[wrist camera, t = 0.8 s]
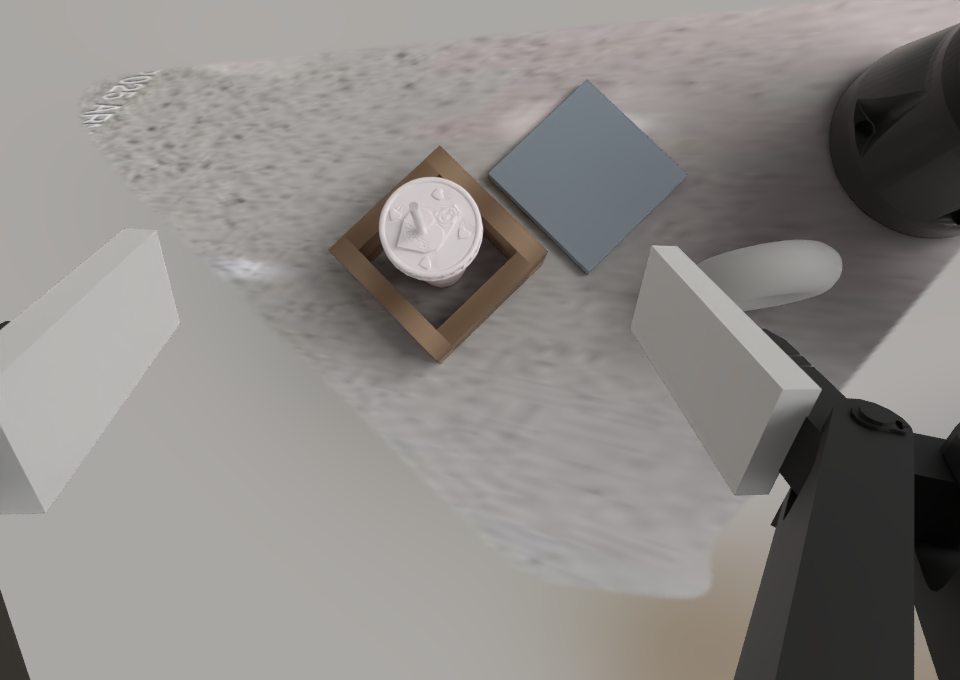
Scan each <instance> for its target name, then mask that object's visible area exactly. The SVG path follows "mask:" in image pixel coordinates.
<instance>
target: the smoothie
mask: <svg viewBox="0 0 960 680" xmlns="http://www.w3.org/2000/svg"><path fill="white" fill-rule="evenodd" d="M379 236H380V240H381V243H382V246H383V248H384V250H385V253H386V255H387V257H388V259H389V260H390V261H391V262H392V263H393V264H394V266H395V267H396V268H397V269H399V270H400V271H402V272H403V273H404V274H406V275H407V276H410V277H413V278H416V279H419V280H424V281H425V282H427V283H429V284H430V285H432V286H435V287H441V288H443V287H449V286H451V285H453V284H455V283H457V282H458V281H459V280H460V279H461V277H462V276H463V274H464V271H465V269H466V267H467V266H469V265H470V263H471V262H472V261H473V259H474V258H475V256H476V255H477V253H478V251H479V248H480V245H481V243H482V236H483V225H482V219H481V215H480V212H479V209H478V207H477V204H476V203H475V201H474V199H473V198H472V197H471V195H470V194H469V193H468V192H467V191H466V190H465V189H464V188H462V187H461V186H460V185H458V184H456V183H454V182H452V181H450V180H447V179H443V178H438V177H423V178H418V179H415V180H412V181H410V182H407V183H405V184H404V185H402V186H401V187H399V188H398V189H397V190H396V191H395V192H394V193H393V194H392V195H391V196H390V197H389V198H388V200H387V201H386V203H385V205H384V207H383V209H382V212H381V215H380V220H379Z"/></svg>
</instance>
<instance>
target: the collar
mask: <svg viewBox="0 0 960 680" xmlns="http://www.w3.org/2000/svg"><path fill="white" fill-rule="evenodd" d="M423 177H438V178H443V179H447V180H450V181H452V182H454V183H456V184H458V185H460V186H461V187H462V188H464V189H465V190H466V191H467V192H468V193H469V194H470V195H471V197H472V198H473V199H474V201H475V203H476V204H477V207H478V209H479V212H480V215H481V219H482V225H483V234H484V235H485V236H486V237H487V238H488V239H489V240H490V241H491V242H492V243H493V244H494V245H495V246H496V247H497V248H498V249H499V250H500V251H501V252H502V253H503V254H504V255H505V256H506V257H507V258H508V259H509V260H508V261H507V262H506V263H505V264H504V265H503V266H502V267H501V268H500V269H499V270H498V271H497V272H496V273H495V274H494V275H493V276H492V277H491V278H490V279H489V280H488V281H487V282H486V283H485V284H484V285H482V286H481V287H480V288H479V289H478V290H477V291H476V292H475V293H474V294H473V295H472V296H471V297H470V298H469V299H468V300H467V301H466V302H465V303H464V304H463V305H462V306H461V307H460V308H459V309H458V310H457V311H456V312H455V313H454V314H453V315H451V316H450V317H449V318H448V319H447V320H446V321H445V322H444V323H443V324H442V325H441V326H440V327H439V328H438V329H437V330H436V329H435V328H434V327H433V326H432V325H431V324H430V323H429V322H428V321H427V320H426V319H425V318H424V317H423V316H422V315H421V314H420V313H419V312H418V311H417V310H416V309H415V307H414V306H413V305H412V304H411V303H410V302H409V301H408V300H407V299H406V298H405V297H404V296H403V295H402V294H401V293H400V292H399V291H398V290H397V289H396V288H395V287H394V286H393V285H392V284H391V283H390V282H389V281H388V280H387V279H386V278H385V277H384V276H383V275H382V274H381V273H380V272H379V271H378V270H377V269H376V268H375V267H374V266H373V265H372V264H371V262H372V261H373V260H374V259H375V258H376V257H377V256H378V255H379V254H381V253H382V252H383V251H384V248H383V246H382V243H381V240H380V236H379V220H380V215H381V212H382V209H383V207H384V205H385V203H386V201H387V200H388V198H389V197H390V196H391V195H392V194H393V193H394V192H395V191H396V190H397V189H398V188H399V187H401V186H402V185H404V184H405V183H407V182H410V181H412V180H415V179H418V178H423ZM329 251H330V252H331V253H332V254H333V255H334V256H335V257H336V258H337V259H338V260H339V261H340V262H341V263H342V264H343V265H344V266H345V267H346V268H347V269H348V270H349V272H350V273H351V274H352V275H353V276H354V277H355V278H356V279H357V280H358V281H359V282H360V283H361V284H362V285H363V286H364V287H365V288H366V289H367V290H368V291H369V292H370V293H371V294H372V295H373V296H374V297H375V298H376V299H377V300H378V301H379V302H380V303H381V304H382V305H383V306H384V307H385V308H386V309H387V311H388V312H389V313H390V314H391V315H392V316H393V317H394V318H395V319H396V320H397V321H398V322H399V323H400V324H401V325H402V326H403V327H404V328H405V329H406V330H407V331H408V332H409V333H410V334H411V335H412V336H413V337H414V338H415V339H416V340H417V341H418V342H419V343H420V344H421V345H422V346H423V347H424V348H425V350H426V351H427V352H428V353H429V354H430V355H431V356H432V357H433V358H434V359H435V360H436V361H438V362H439V363H440V364H441V363H442V362H443V361H444V360H445V359H446V358H447V357H448V356H449V355H450V354H451V353H452V352H453V351H454V350H455V349H456V348H457V347H458V346H459V345H460V344H461V343H462V342H463V341H464V340H465V339H466V338H467V337H468V336H469V335H470V334H471V333H472V332H473V331H475V330H476V329H477V328H478V327H479V326H480V325H481V324H482V323H483V322H484V321H485V320H486V319H487V318H488V317H489V316H490V315H491V314H492V313H493V312H494V311H495V310H496V309H497V308H498V307H499V306H500V305H501V304H502V303H503V302H504V301H505V300H506V299H507V298H508V297H509V296H510V295H511V294H513V293H514V292H515V291H516V290H517V289H518V288H519V287H520V286H521V285H522V284H523V283H524V282H525V281H526V280H527V279H528V278H529V277H530V276H531V275H532V274H533V273H534V272H535V271H536V270H537V269H538V268H539V267H540V266H541V265H542V263H543V261H544V259H545V257H546V254H547V252H548V251H547V250H546V249H545V248H544V247H543V246H542V245H541V244H540V243H539V242H538V241H536V240H535V239H534V238H533V237H532V236H531V235H530V234H529V233H528V232H527V231H526V230H525V229H524V228H523V227H522V226H521V225H520V224H519V223H518V222H517V221H516V220H515V219H514V218H513V217H512V216H511V215H510V214H509V213H508V212H507V211H506V210H505V209H504V208H503V207H502V206H501V205H500V204H499V203H498V202H497V201H496V200H495V199H494V198H493V197H492V196H491V195H490V194H489V193H488V192H487V191H486V190H485V189H484V188H483V187H482V186H481V185H479V184H478V183H477V182H476V181H475V180H474V179H473V178H472V177H471V176H470V175H469V174H468V173H467V172H466V171H465V170H464V169H463V168H462V167H461V166H460V165H459V164H458V163H457V162H456V161H455V160H454V159H453V158H452V157H451V156H450V155H449V154H448V153H447V152H446V151H445V150H444V149H443V148H442V147H441V146H439V147H438V148H437V149H436V150H434V151H433V152H432V153H431V154H430V155H429V156H428V157H427V158H426V159H425V160H424V161H423V162H422V163H421V164H420V165H418V166H417V167H416V168H415V169H414V170H413V171H412V172H411V173H410V174H409V175H408V176H407V177H406V178H405V179H403V180H402V181H401V182H400V183H399V184H398V185H397V186H396V187H395V188H394V189H393V190H392V191H391V192H390V193H389V194H387V195H386V196H385V197H384V198H383V199H382V200H381V201H380V202H379V203H378V204H377V205H376V206H375V207H374V208H373V209H371V210H370V211H369V212H368V213H367V214H366V215H365V216H364V217H363V218H362V219H361V220H360V221H359V222H358V223H357V224H355V225H354V226H353V227H352V228H351V229H350V230H349V231H348V232H347V233H346V234H345V235H344V236H343V237H342V238H340V239H339V240H338V241H337V242H336V243H335V244H334V245H333V246H332V247H331V248H330V249H329Z"/></svg>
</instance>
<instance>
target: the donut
mask: <svg viewBox="0 0 960 680" xmlns="http://www.w3.org/2000/svg"><path fill="white" fill-rule="evenodd" d="M696 265H697V266H698V267H699V268H700V269H701V270H702V271H703V272H704V273H705V274H706V275H707V276H708V277H709V278H710V279H711V280H712V281H713V282H714V283H715V284H716V285H717V286H718V287H719V288H720V289H721V290H722V291H723V292H724V293H725V294H726V295H727V296H728V297H729V298H730V299H731V300H732V301H733V302H734V303H735V304H736V305H737V306H738V307H739V308H740V309H741V310H742V311H749V310H756V309H762V308H768V307H773V306H778V305H784V304H788V303H792V302H797V301H800V300H804V299H807V298H811V297H814V296H817V295H820V294H822V293H824V292H826V291H828V290H829V289H831V288H832V287H833V285H834V284H835V283H836V282H837V281H838V279H839V278H840V275H841V273H842V260H841V257H840V255H839V253H838V252H837V251H836V250H835V249H834V248H832V247H830V246H828V245H826V244H824V243H822V242H820V241H814V240H802V239H798V240H784V241H777V242H770V243H763V244H758V245H753V246H749V247H744V248H740V249H736V250H732V251H729V252H725V253H721V254H719V255H716V256H713V257H710V258H707V259H705V260H703V261H701V262H699V263H697V264H696Z"/></svg>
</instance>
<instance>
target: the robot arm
mask: <svg viewBox="0 0 960 680" xmlns="http://www.w3.org/2000/svg"><path fill="white" fill-rule="evenodd" d="M830 148H831V155H832V159H833V163H834V167H835V170H836V172H837V175H838V177H839V179H840V181H841V183H842V185H843V187H844V188H845V190H846V191H847V193H848V194H849V196H850V197H851V198H852V199H853V201H854V202H855V203H856V204H857V205H858V206H859V207H860V208H861V209H862V210H863V211H864V212H865V213H867V214H868V215H869V216H870V217H872V218H873V219H875V220H876V221H878V222H879V223H881V224H883V225H885V226H886V227H889V228H891V229H893V230H895V231H898V232H901V233H904V234H907V235H912V236H917V237H925V238H943V237H951V236H955V235H960V23H959V24H956V25H954V26H951V27H949V28H946V29H944V30H941V31H939V32H936V33H934V34H931V35H929V36H926V37H924V38H921V39H919V40H916V41H913V42H911V43H908V44H906V45H904V46H901V47H899V48H897V49H895V50H893V51H892V52H890V53H888V54H887V55H885V56H883V57H882V58H880V59H879V60H878V61H877V62H875V63H874V64H873V65H872V66H871V67H869V68H868V69H867V70H866V71H865V72H863V73H862V74H861V75H860V76H859V77H858V78H857V79H856V80H854V81H853V83H852V84H851V85H850V86H849V87H848V88H847V90H846V91H845V92H844V94H843V95H842V97H841V99H840V101H839V103H838V105H837V107H836V110H835V112H834V116H833V119H832V124H831V132H830ZM179 324H180V320H179V316H178V312H177V309H176V305H175V301H174V297H173V293H172V289H171V285H170V281H169V277H168V273H167V269H166V265H165V261H164V258H163V253H162V250H161V245H160V242H159V238H158V234H157V230H150V229H123V230H122V231H121V232H119V233H118V234H117V235H116V236H115V237H114V238H112V239H111V240H110V241H108V242H107V243H106V244H105V245H104V246H102V247H101V248H100V249H99V250H97V251H96V252H95V253H94V254H93V255H91V256H90V257H89V258H88V259H86V261H84V262H83V263H82V264H81V265H79V266H78V267H77V268H76V269H74V270H73V271H72V272H71V273H69V274H68V275H67V276H66V277H65V278H63V279H62V280H61V281H60V282H58V283H57V284H56V285H55V286H54V287H52V288H51V289H50V290H49V291H47V292H46V293H45V294H44V295H43V296H41V297H40V298H39V299H38V300H36V301H35V302H34V303H33V304H32V305H30V306H29V307H28V308H27V309H26V310H24V311H23V312H22V313H21V314H19V315H18V316H17V317H16V318H15V319H13V320H12V321H5V322H3V323H1V324H0V514H37V513H46V512H47V511H48V509H49V508H50V507H51V505H52V504H53V502H54V501H55V499H56V498H57V497H58V495H59V494H60V493H61V491H62V490H63V488H64V487H65V485H66V484H67V483H68V481H69V480H70V478H71V477H72V475H73V474H74V473H75V471H76V470H77V468H78V467H79V466H80V464H81V463H82V461H83V460H84V459H85V457H86V456H87V454H88V453H89V452H90V450H91V449H92V447H93V446H94V444H95V443H96V442H97V440H98V439H99V437H100V436H101V435H102V433H103V432H104V430H105V429H106V427H107V426H108V425H109V423H110V422H111V420H112V419H113V418H114V416H115V415H116V413H117V412H118V411H119V409H120V408H121V406H122V405H123V403H124V402H125V400H126V399H127V398H128V396H129V395H130V394H131V392H132V390H133V389H134V388H135V387H136V385H137V384H138V382H139V381H140V379H141V378H142V377H143V375H144V374H145V372H146V371H147V369H148V368H149V367H150V365H151V364H152V362H153V361H154V360H155V358H156V357H157V355H158V354H159V353H160V351H161V350H162V348H163V347H164V346H165V344H166V343H167V341H168V340H169V338H170V337H171V336H172V334H173V333H174V331H175V330H176V328H177V327H178V326H179ZM630 329H631V331H632V333H633V334H634V336H635V337H636V339H637V341H638V342H639V344H640V345H641V347H642V349H643V350H644V352H645V353H646V355H647V357H648V358H649V360H650V361H651V363H652V365H653V366H654V368H655V369H656V371H657V373H658V374H659V376H660V377H661V379H662V381H663V382H664V384H665V385H666V387H667V389H668V390H669V392H670V393H671V395H672V396H673V398H674V400H675V401H676V403H677V404H678V406H679V408H680V409H681V411H682V412H683V414H684V416H685V417H686V419H687V420H688V422H689V424H690V425H691V427H692V428H693V430H694V432H695V433H696V435H697V436H698V438H699V440H700V441H701V443H702V444H703V446H704V448H705V449H706V451H707V452H708V454H709V456H710V457H711V459H712V460H713V462H714V464H715V465H716V467H717V468H718V470H719V471H720V473H721V475H722V476H723V478H724V479H725V481H726V483H727V484H728V486H729V487H730V489H731V491H732V492H733V494H734V495H762V494H769V493H770V491H771V489H772V487H773V485H774V483H775V481H776V479H777V477H778V475H779V473H781V475H782V476H783V477H784V479H785V480H786V481H787V482H788V484H789V485H790V489H789V492H788V493H787V495H786V497H785V499H784V501H783V502H782V504H781V506H780V508H779V510H778V512H777V514H776V516H775V518H774V519H773V521H772V523H771V525H772V526H774V527H776V530H775V533H774V537H773V541H772V544H771V548H770V551H769V555H768V559H767V562H766V566H765V569H764V573H763V576H762V580H761V584H760V587H759V591H758V594H757V598H756V602H755V605H754V609H753V612H752V616H751V619H750V623H749V627H748V630H747V634H746V637H745V641H744V645H743V648H742V652H741V655H740V659H739V663H738V667H737V670H736V673H735V677H734V680H914V605H915V608H916V611H917V614H918V617H919V620H920V624H921V627H922V630H923V633H924V636H925V639H926V642H927V645H928V648H929V651H930V654H931V657H932V661H933V664H934V667H935V669H936V673H937V676H938V679H939V680H960V423H959V424H958V425H957V426H956V427H955V428H954V430H953V431H952V433H951V434H950V435H949V437H948V438H947V440H946V439H941V438H936V437H931V436H926V435H921V434H916V433H913V431H912V428H911V427H910V425H909V424H908V423H907V422H906V421H905V420H904V419H903V418H901V417H900V416H898V415H897V414H895V413H894V412H892V411H891V410H889V409H887V408H884V407H882V406H880V405H877V404H875V403H872V402H868V401H865V400H861V399H847V398H845V396H844V395H842V394H841V393H840V392H839V391H838V390H837V389H836V388H835V387H834V386H833V385H832V384H831V383H830V382H829V381H828V380H827V379H826V378H825V377H824V376H823V375H822V374H820V373H819V372H818V371H817V370H816V369H815V368H814V367H811V364H810V363H809V362H808V361H807V360H806V359H805V358H804V357H803V356H800V353H798V352H797V351H796V350H795V349H794V348H793V347H792V346H791V345H790V344H789V343H788V342H787V341H786V340H784V339H782V338H781V337H779V336H777V335H775V334H774V333H772V332H770V331H769V330H767V329H760V328H759V327H758V326H757V325H756V324H755V323H754V322H753V321H752V320H751V319H750V318H749V317H748V316H747V315H746V314H745V313H744V312H743V311H742V310H741V309H740V308H739V307H738V306H737V305H736V304H735V303H734V302H733V301H732V300H731V299H730V298H729V297H728V296H727V295H726V294H725V293H724V292H723V291H722V290H721V289H720V288H719V287H718V286H717V285H716V284H715V283H714V282H713V281H712V280H711V279H710V278H709V277H708V276H707V275H706V274H705V273H704V272H703V271H702V270H701V269H700V268H699V267H698V266H697V265H696V264H695V263H694V262H693V261H692V260H691V259H690V258H689V257H688V256H687V255H686V254H685V253H684V252H683V251H682V250H681V249H680V248H679V247H678V246H656V245H651V249H650V253H649V257H648V261H647V265H646V269H645V273H644V276H643V280H642V284H641V288H640V292H639V296H638V300H637V304H636V308H635V312H634V316H633V320H632V323H631V327H630ZM0 680H30V678H29V675H28V672H27V669H26V666H25V663H24V660H23V657H22V654H21V651H20V648H19V645H18V642H17V639H16V636H15V633H14V630H13V627H12V624H11V621H10V618H9V615H8V612H7V609H6V606H5V603H4V600H3V597H2V594H1V591H0Z"/></svg>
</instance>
